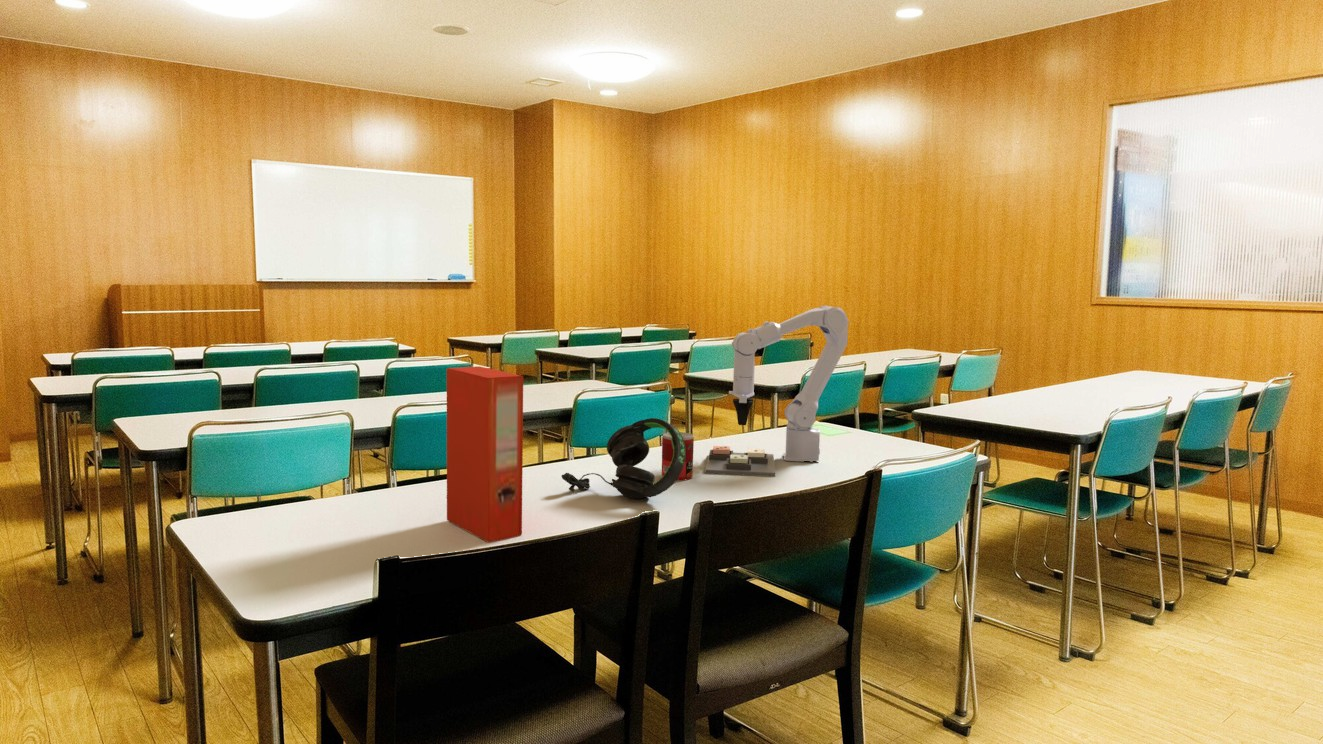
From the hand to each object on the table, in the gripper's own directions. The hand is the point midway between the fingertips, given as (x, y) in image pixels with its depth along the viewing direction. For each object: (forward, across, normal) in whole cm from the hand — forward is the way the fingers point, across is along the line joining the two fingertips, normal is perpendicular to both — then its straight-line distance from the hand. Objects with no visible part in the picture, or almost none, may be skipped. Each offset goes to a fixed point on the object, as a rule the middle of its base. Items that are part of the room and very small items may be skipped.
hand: (742, 424), depth 238 cm
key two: (+7, +13, -1) cm, 15 cm away
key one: (+7, +5, +4) cm, 10 cm away
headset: (+10, +44, -26) cm, 52 cm away
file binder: (+10, +72, -51) cm, 89 cm away
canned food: (+10, +23, -16) cm, 30 cm away
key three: (+7, +3, -5) cm, 10 cm away
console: (+10, +7, 0) cm, 12 cm away
